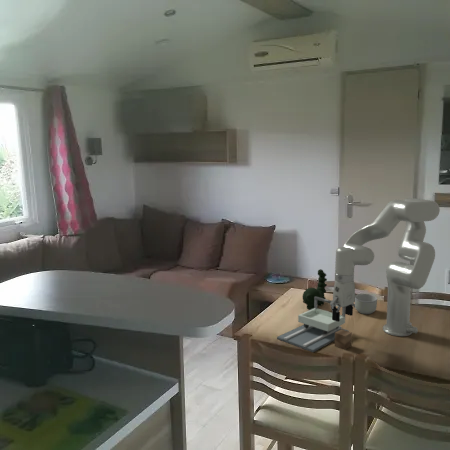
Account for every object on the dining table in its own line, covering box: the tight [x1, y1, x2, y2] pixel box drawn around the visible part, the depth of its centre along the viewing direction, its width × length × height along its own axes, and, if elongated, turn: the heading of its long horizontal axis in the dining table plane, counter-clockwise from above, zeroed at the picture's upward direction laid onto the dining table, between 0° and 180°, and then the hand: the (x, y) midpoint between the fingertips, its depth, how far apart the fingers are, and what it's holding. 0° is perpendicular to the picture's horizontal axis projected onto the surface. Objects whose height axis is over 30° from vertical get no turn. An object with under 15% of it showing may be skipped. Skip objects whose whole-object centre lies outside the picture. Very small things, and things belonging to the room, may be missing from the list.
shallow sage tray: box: [297, 296, 346, 334], centre depth 212 cm, size 16×13×11 cm
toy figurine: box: [302, 269, 328, 311], centre depth 245 cm, size 9×19×25 cm
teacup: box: [353, 293, 378, 315], centre depth 237 cm, size 14×11×8 cm
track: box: [276, 324, 349, 353], centre depth 210 cm, size 19×27×2 cm
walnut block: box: [334, 328, 353, 351], centre depth 199 cm, size 5×5×6 cm
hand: (342, 317), depth 196 cm, fingers open, 9 cm apart
